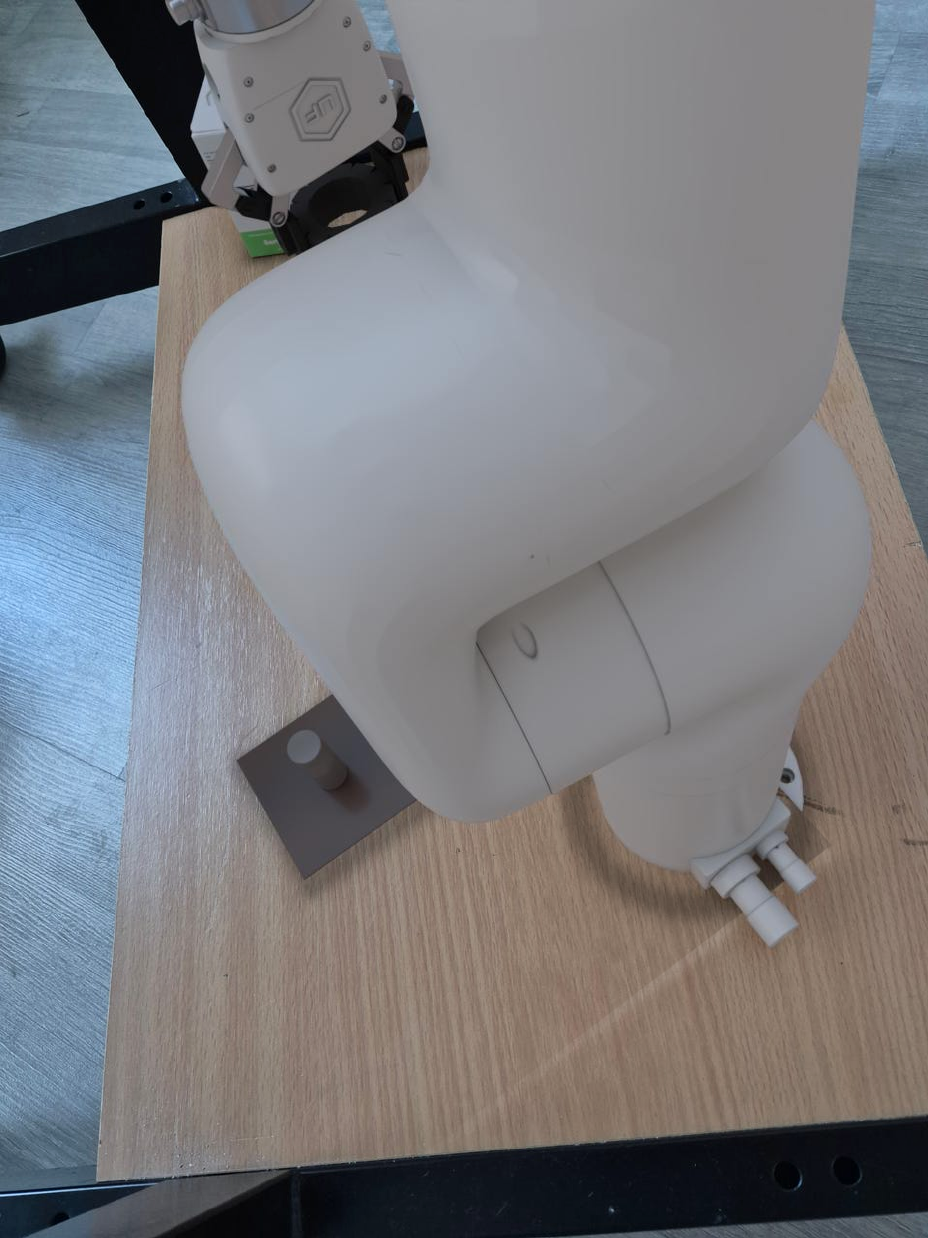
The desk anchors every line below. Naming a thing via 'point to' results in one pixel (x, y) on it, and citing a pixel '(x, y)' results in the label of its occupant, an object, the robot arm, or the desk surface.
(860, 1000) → the desk surface
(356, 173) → the black gear
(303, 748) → the peg stand
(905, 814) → the desk surface
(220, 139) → the ink box
